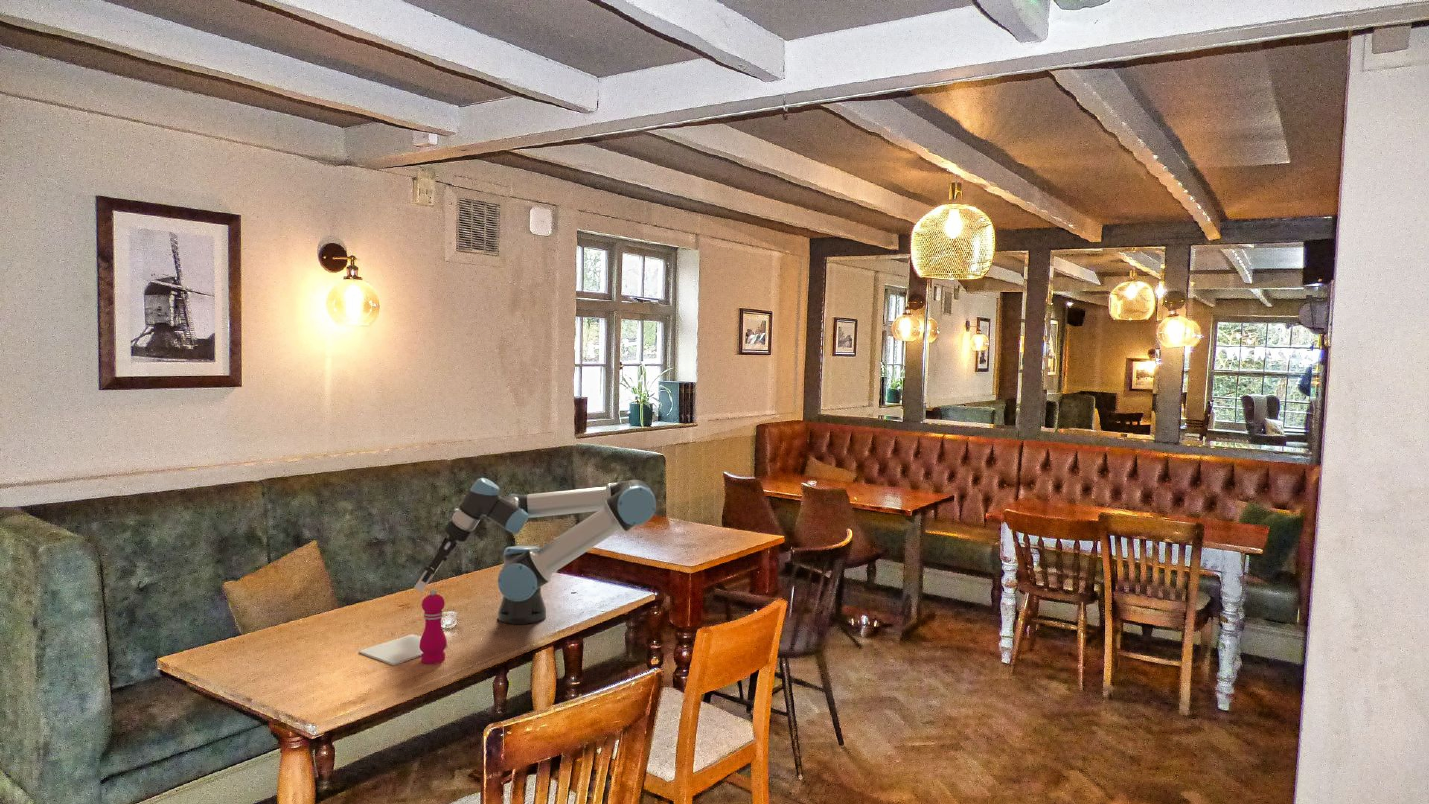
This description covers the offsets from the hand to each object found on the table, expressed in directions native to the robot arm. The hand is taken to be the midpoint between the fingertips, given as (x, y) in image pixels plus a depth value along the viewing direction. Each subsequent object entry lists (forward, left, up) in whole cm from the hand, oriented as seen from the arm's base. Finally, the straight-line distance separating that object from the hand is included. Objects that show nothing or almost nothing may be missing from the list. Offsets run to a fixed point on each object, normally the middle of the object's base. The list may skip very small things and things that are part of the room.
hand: (422, 583), depth 259 cm
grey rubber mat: (+2, +15, -15) cm, 22 cm away
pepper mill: (-8, +24, -15) cm, 29 cm away
